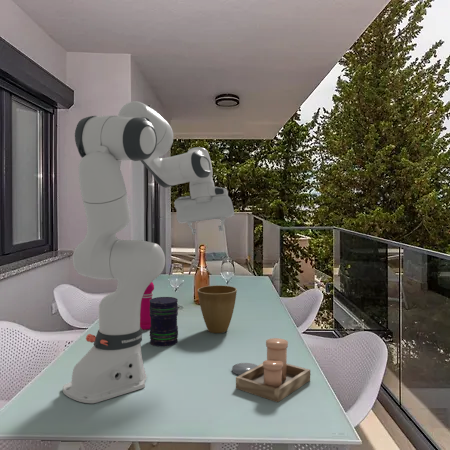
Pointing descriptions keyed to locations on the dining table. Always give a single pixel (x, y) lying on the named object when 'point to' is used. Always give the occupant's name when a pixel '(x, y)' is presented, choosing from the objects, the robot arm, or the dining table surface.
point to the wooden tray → (255, 385)
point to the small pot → (273, 373)
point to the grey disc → (242, 368)
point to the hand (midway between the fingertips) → (207, 232)
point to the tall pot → (278, 352)
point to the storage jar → (163, 321)
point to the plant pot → (217, 306)
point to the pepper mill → (146, 307)
